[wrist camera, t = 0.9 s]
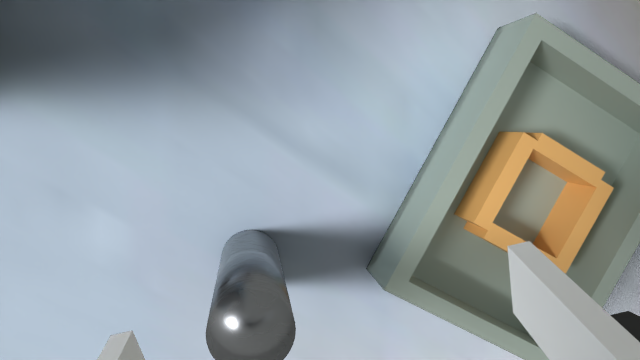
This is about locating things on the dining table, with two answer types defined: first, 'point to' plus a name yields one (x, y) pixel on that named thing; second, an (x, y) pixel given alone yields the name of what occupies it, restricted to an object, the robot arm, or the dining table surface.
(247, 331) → the peg
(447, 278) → the walled box
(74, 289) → the dining table surface
